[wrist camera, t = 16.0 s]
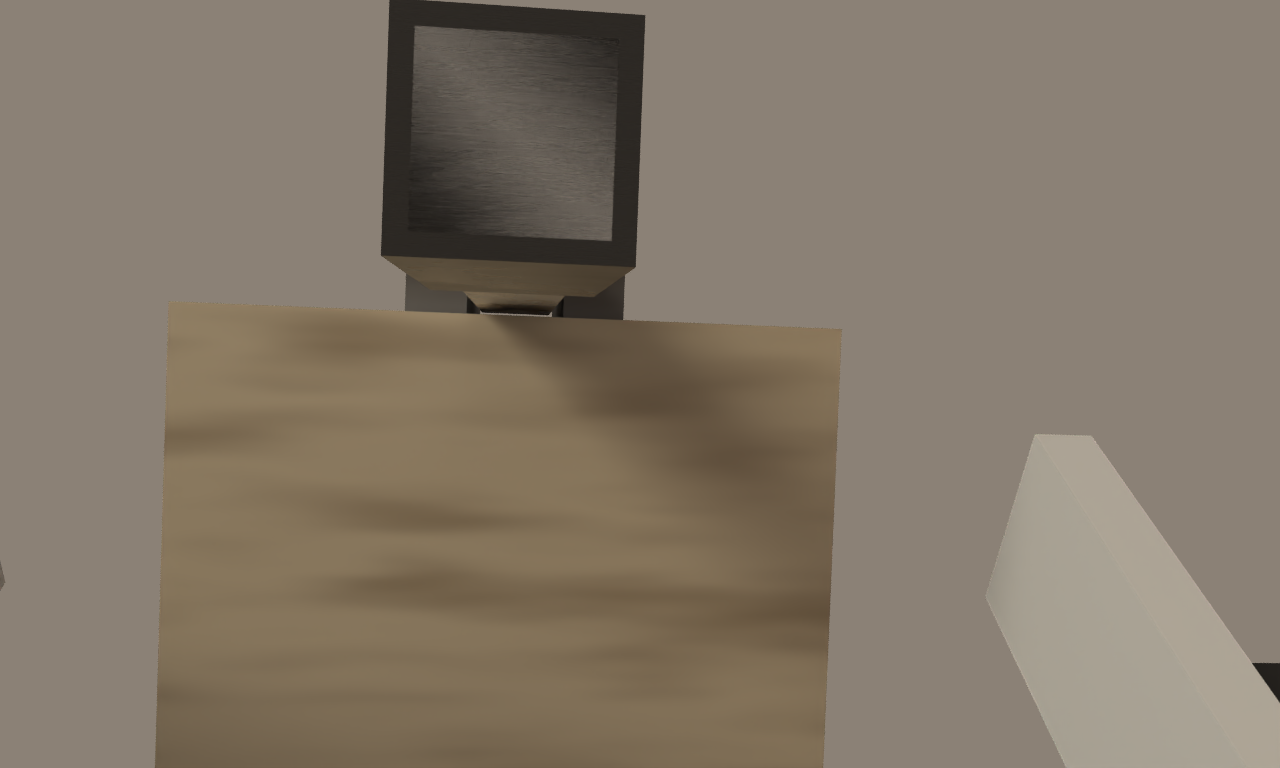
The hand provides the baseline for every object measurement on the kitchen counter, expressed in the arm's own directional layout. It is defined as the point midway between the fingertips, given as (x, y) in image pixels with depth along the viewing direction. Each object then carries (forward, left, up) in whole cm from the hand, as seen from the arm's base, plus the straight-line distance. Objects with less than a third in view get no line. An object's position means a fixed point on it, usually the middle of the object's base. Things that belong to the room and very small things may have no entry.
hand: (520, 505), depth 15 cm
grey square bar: (-6, +13, +3) cm, 14 cm away
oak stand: (-13, +28, -30) cm, 43 cm away
